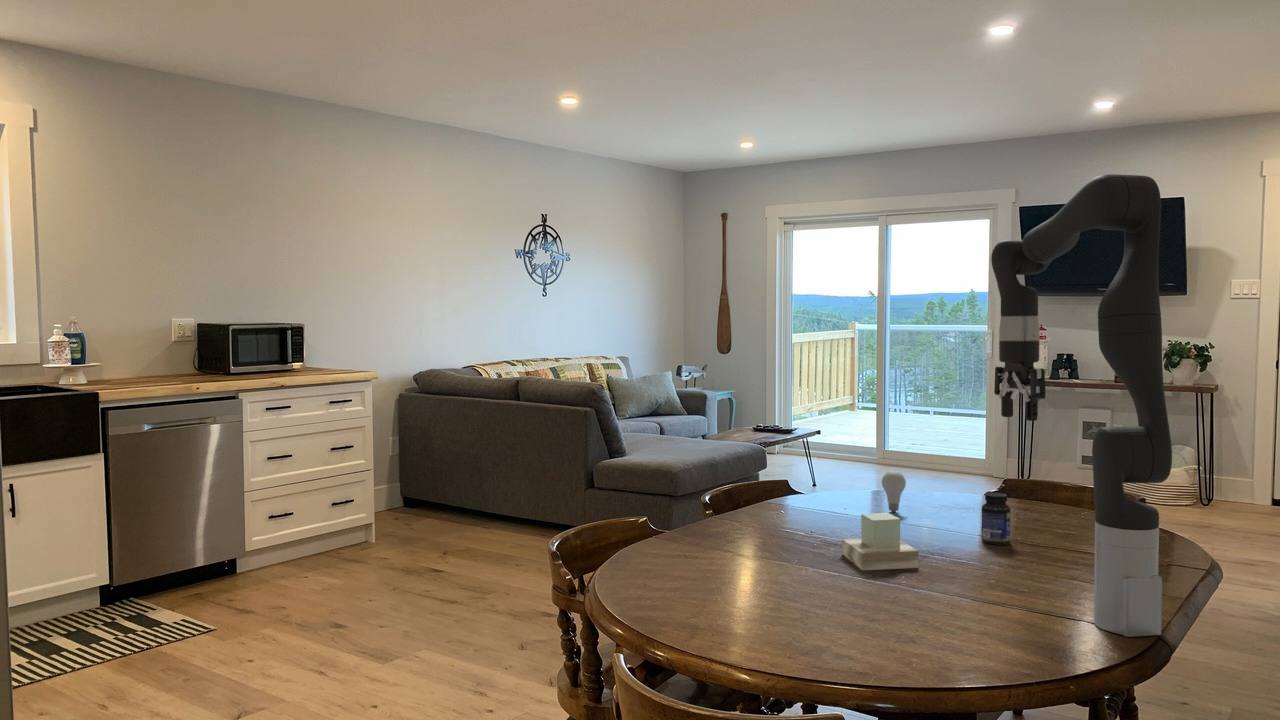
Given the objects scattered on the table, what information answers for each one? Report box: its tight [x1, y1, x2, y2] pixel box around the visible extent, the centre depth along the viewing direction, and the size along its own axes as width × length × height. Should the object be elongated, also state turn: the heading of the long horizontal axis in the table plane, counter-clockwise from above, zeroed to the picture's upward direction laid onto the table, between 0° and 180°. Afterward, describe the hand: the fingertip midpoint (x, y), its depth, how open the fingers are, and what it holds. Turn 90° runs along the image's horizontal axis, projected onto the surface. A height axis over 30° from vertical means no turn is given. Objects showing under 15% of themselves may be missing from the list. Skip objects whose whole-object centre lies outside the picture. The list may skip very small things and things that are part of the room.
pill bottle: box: [981, 492, 1011, 546], centre depth 204 cm, size 6×6×11 cm
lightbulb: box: [881, 470, 907, 513], centre depth 237 cm, size 6×6×11 cm
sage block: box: [860, 512, 901, 549], centre depth 189 cm, size 6×6×6 cm
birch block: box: [841, 537, 919, 571], centre depth 190 cm, size 12×12×4 cm
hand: (1018, 418), depth 182 cm, fingers open, 8 cm apart
